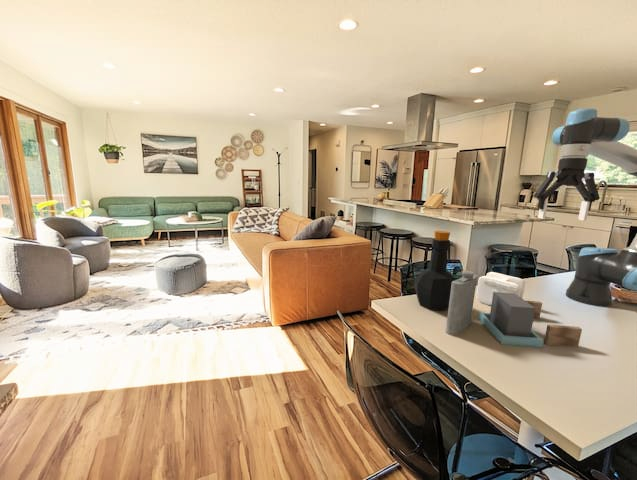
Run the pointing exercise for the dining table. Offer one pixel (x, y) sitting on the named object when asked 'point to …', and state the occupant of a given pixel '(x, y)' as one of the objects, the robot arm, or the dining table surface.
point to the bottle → (436, 276)
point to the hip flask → (461, 303)
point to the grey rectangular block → (511, 314)
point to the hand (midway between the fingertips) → (561, 219)
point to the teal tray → (510, 340)
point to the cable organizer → (498, 286)
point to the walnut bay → (558, 331)
